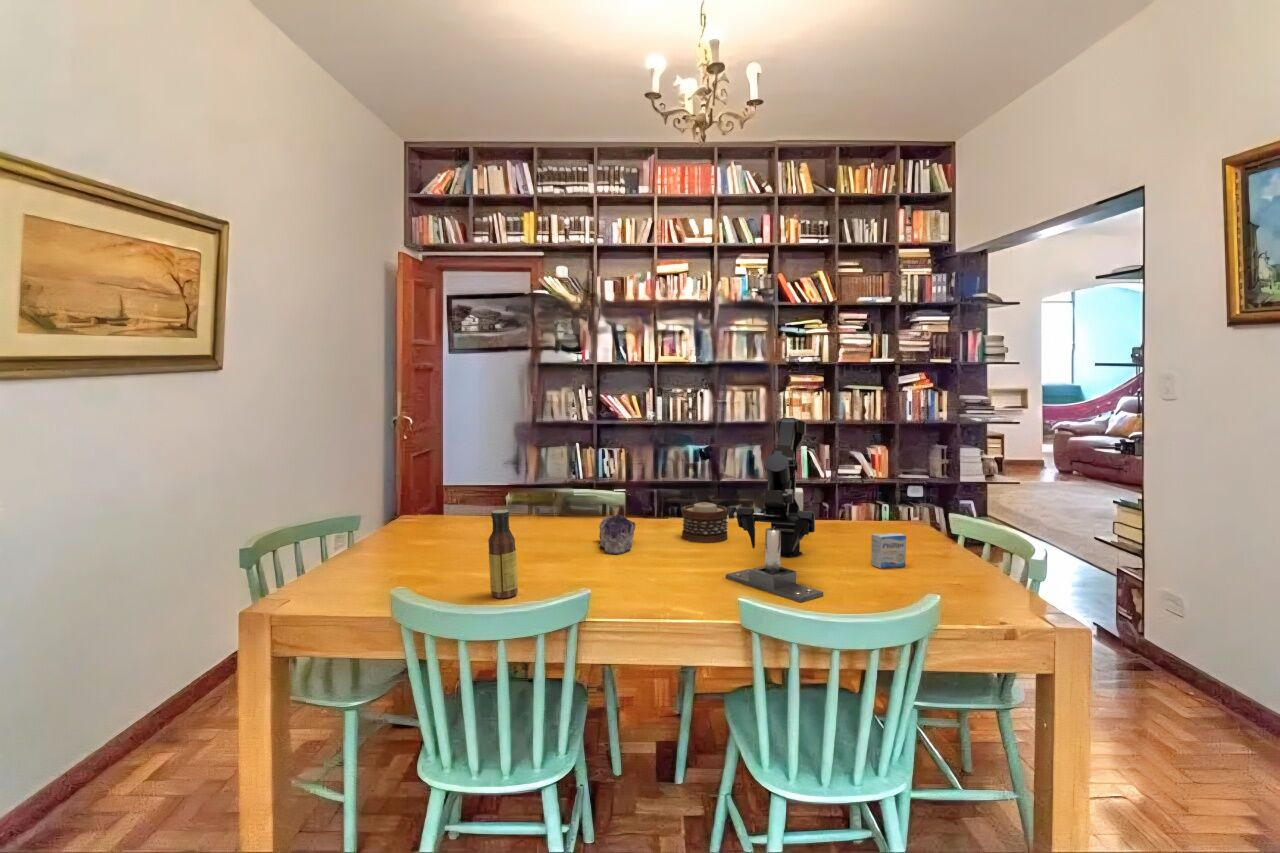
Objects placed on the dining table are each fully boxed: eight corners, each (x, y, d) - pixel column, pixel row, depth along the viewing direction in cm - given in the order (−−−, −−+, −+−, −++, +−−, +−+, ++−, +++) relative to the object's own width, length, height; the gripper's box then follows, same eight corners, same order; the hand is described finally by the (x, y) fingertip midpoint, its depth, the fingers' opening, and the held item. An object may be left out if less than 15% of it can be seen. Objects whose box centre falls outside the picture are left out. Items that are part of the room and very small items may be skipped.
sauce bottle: (519, 591, 167) (518, 508, 166) (515, 599, 161) (514, 513, 159) (491, 591, 167) (490, 508, 165) (486, 599, 161) (485, 513, 159)
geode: (640, 555, 201) (635, 521, 200) (600, 561, 200) (595, 527, 199) (637, 536, 221) (632, 505, 220) (600, 541, 221) (596, 510, 219)
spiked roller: (732, 501, 226) (724, 509, 212) (732, 534, 227) (723, 545, 213) (687, 498, 231) (676, 506, 216) (687, 531, 232) (676, 541, 217)
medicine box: (880, 569, 186) (881, 537, 186) (870, 565, 191) (871, 533, 190) (905, 567, 189) (906, 535, 188) (895, 562, 193) (896, 531, 192)
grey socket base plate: (725, 578, 178) (725, 562, 178) (747, 572, 183) (748, 557, 182) (800, 602, 159) (800, 585, 159) (823, 595, 164) (823, 579, 163)
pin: (762, 584, 172) (763, 528, 171) (776, 584, 173) (777, 527, 172) (767, 589, 169) (768, 531, 168) (781, 588, 169) (782, 531, 168)
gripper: (738, 475, 176) (729, 527, 166) (815, 478, 170) (811, 533, 160) (742, 500, 184) (735, 552, 174) (816, 505, 178) (812, 558, 168)
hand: (772, 549), depth 169 cm, fingers open, 9 cm apart
